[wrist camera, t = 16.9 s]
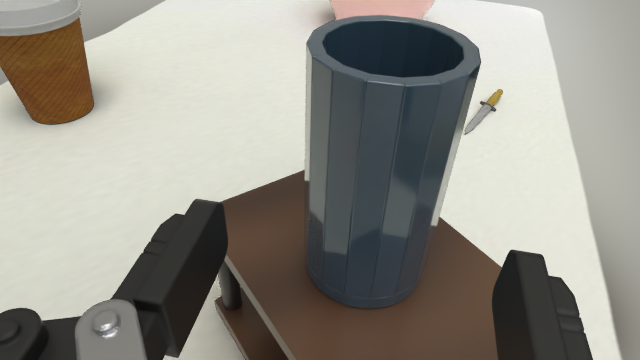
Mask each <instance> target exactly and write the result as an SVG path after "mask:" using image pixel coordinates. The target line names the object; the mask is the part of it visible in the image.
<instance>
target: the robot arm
mask: <svg viewBox="0 0 640 360" xmlns="http://www.w3.org/2000/svg"><path fill="white" fill-rule="evenodd" d="M227 249H228V234H227V227H226V219H225V212H224V206H223V204H222V203H220V202H214V201H208V200H201V199H195V200H194V201H193V202H192V204H191V205H190V207H189V209H188V210H187V212H186V214H185V215H181V214H174V215H173V216H172V217H170V218H169V219H168V220H166V221H165V222H164V223H162V224H161V225H160V226H159V228H158V229H157V231H156V232H155V234H154V235H153V237H152V238H151V242H149V243H148V244H147V246H146V247H145V249H144V252H143V253H141V255H140V256H139V258H138V259H137V261H136V262H135V264H134V265H133V267H132V268H131V270H130V271H129V273H128V274H127V276H126V278H125V279H124V281H123V282H122V284H121V285H120V287H119V288H118V290H117V291H116V293H115V294H114V295H113V297H112V298H111V299H110V300H107V301H103V302H101V303H98V304H96V305H94V306H93V307H91V308H90V309H88V310H87V311H86V312H85V313H84V314H83V315H82V316H79V317H72V318H63V319H54V320H45V321H42V320H41V318H40V317H39V315H38V314H37V313H36V312H35V311H33V310H31V309H27V308H16V309H11V310H8V311H5V312H2V313H0V360H163V358H164V356H165V355H167V356H172V357H176V358H178V357H179V355H180V353H181V351H182V349H183V347H184V345H185V343H186V340H187V338H188V336H189V334H190V332H191V330H192V328H193V325H194V323H195V321H196V319H197V317H198V315H199V313H200V311H201V308H202V306H203V304H204V302H205V300H206V298H207V296H208V294H209V291H210V289H211V287H212V285H213V283H214V281H215V279H216V277H217V274H218V272H219V270H220V268H221V266H222V264H223V262H224V259H225V257H226V253H227ZM492 312H493V321H494V329H495V338H496V346H497V355H498V360H593V358H592V355H591V351H590V348H589V345H588V341H587V338H586V334H585V333H584V327H583V324H582V321H581V318H579V310H578V307H577V304H576V300H575V297H574V295H573V293H572V292H571V291H570V289H569V288H568V287H567V285H566V284H565V283H564V281H563V280H562V279H561V278H559V277H553V276H548V272H547V268H546V264H545V260H544V257H543V256H542V255H541V254H536V253H530V252H523V251H517V250H510V251H509V253H508V255H507V257H506V260H505V262H504V264H503V267H502V269H501V271H500V274H499V276H498V278H497V280H496V283H495V285H494V289H493V294H492Z"/></svg>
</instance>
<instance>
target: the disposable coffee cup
mask: <svg viewBox="0 0 640 360" xmlns="http://www.w3.org/2000/svg"><path fill="white" fill-rule="evenodd" d="M80 10H81V2H80V1H79V0H0V67H1V68H2V70H3V71H4V73H5V75H6V77H7V78H8V80H9V82H10V83H11V85H12V87H13V88H14V90H15V91H16V93H17V95H18V97H19V98H20V100H21V102H22V103H23V105H24V106H25V108H26V110H27V111H28V113H29V115H30V116H31V118H32V119H33V120H35V121H37V122H39V123H45V124H58V123H65V122H69V121H72V120H75V119H78V118H80V117H82V116H84V115H86V114H87V113H89V112H90V111H91V110H92V108H93V106H94V101H93V95H92V90H91V84H90V78H89V71H88V65H87V59H86V53H85V48H84V41H83V35H82V29H81V24H80V18H79V16H80Z"/></svg>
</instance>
